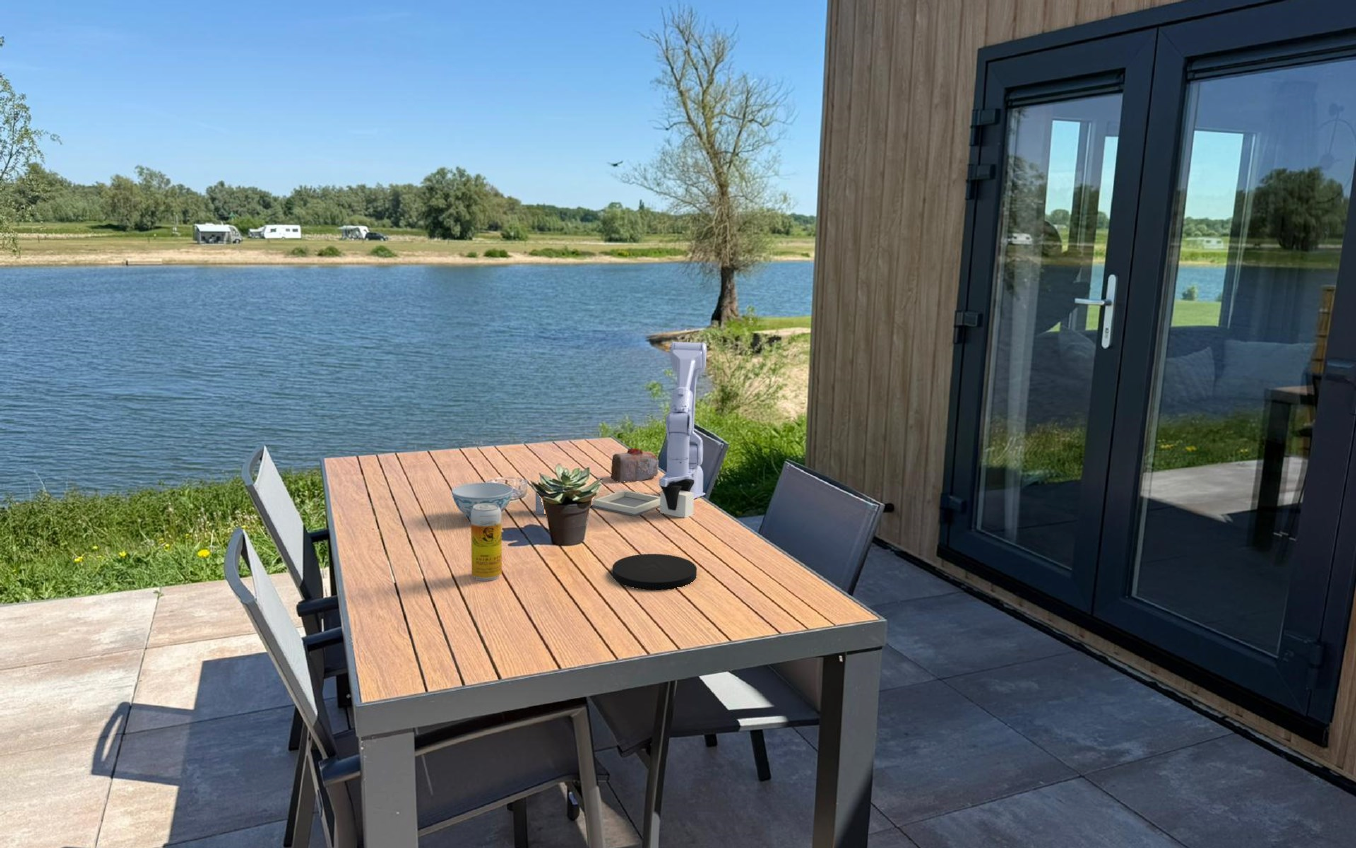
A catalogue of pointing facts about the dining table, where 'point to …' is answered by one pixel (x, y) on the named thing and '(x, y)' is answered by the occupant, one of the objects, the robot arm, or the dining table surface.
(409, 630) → the dining table surface
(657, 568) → the wireless charger
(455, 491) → the chinaware
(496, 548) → the beer can
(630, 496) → the shallow square tray
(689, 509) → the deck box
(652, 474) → the food item
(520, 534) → the dining table surface
